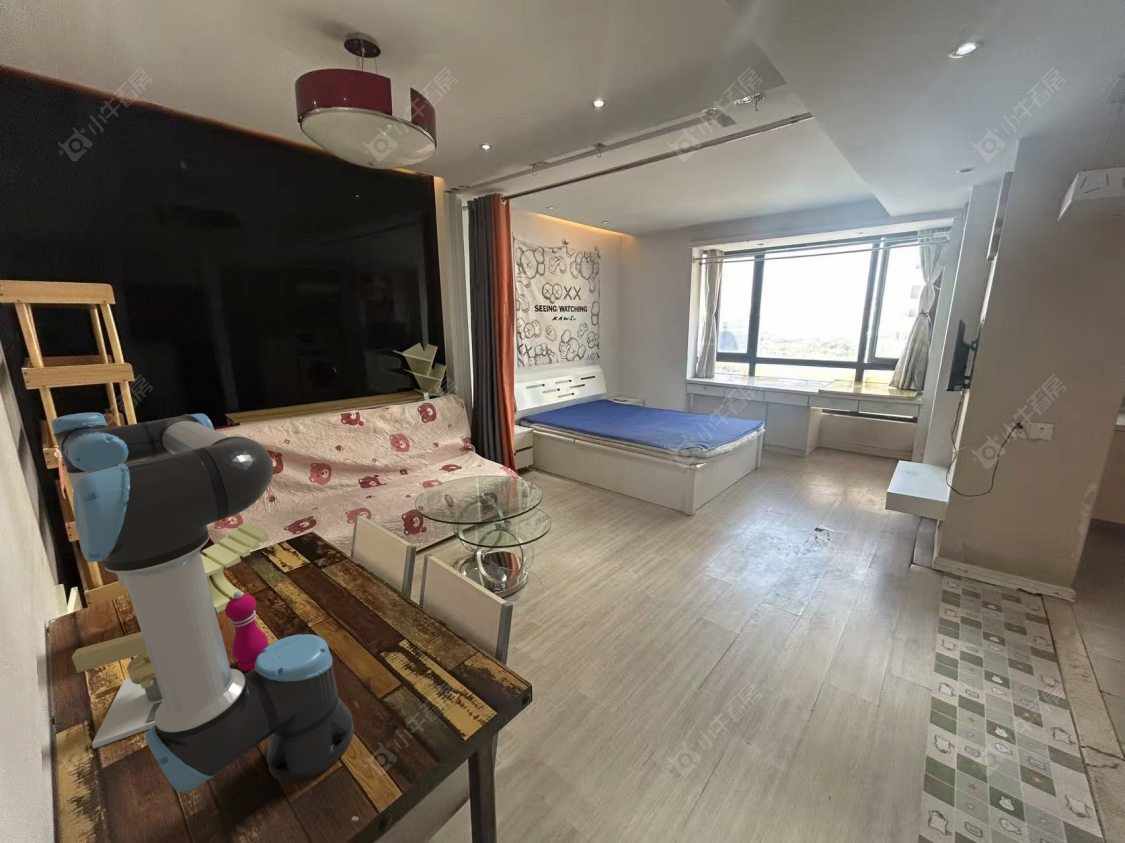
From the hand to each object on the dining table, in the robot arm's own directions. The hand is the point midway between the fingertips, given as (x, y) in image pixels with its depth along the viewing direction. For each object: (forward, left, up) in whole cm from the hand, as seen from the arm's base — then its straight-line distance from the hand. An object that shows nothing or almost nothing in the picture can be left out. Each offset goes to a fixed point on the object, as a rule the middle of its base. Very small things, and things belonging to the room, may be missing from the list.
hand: (129, 582), depth 100 cm
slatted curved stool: (+29, -6, -26) cm, 39 cm away
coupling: (-8, -3, -18) cm, 20 cm away
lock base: (-8, -3, -26) cm, 27 cm away
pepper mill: (-6, -20, -26) cm, 33 cm away
